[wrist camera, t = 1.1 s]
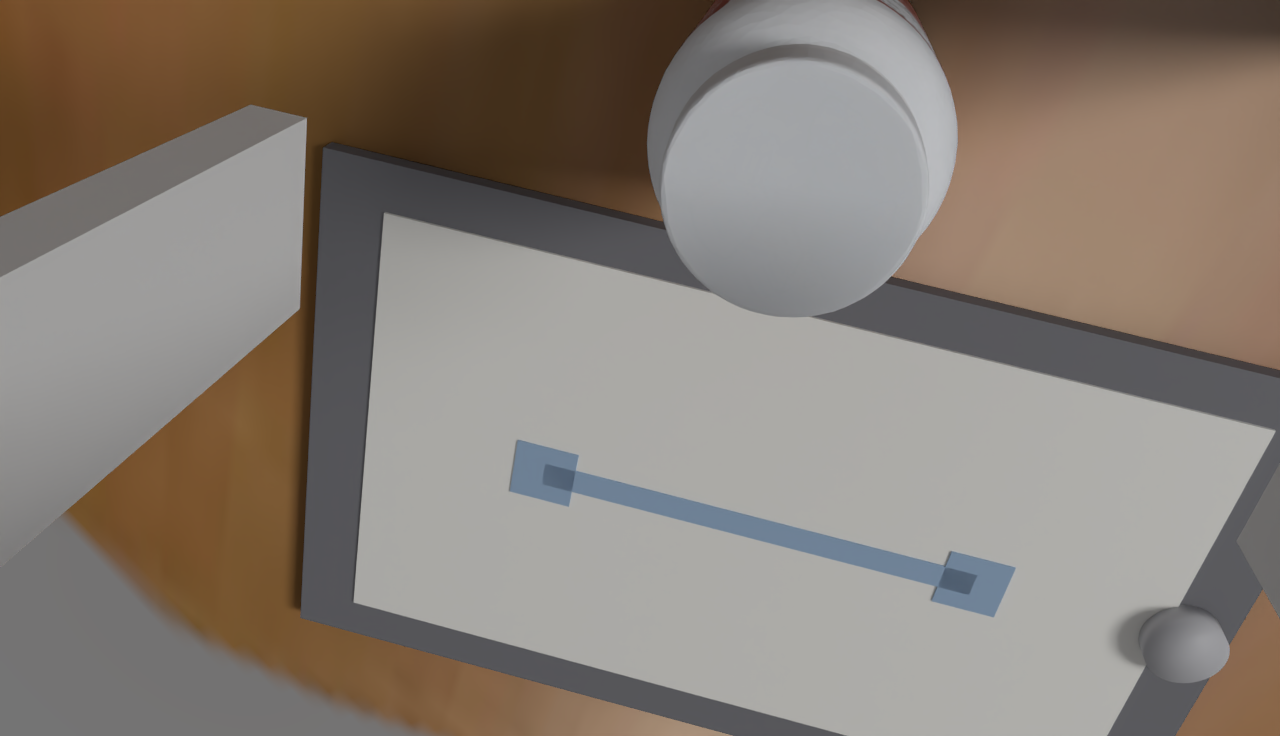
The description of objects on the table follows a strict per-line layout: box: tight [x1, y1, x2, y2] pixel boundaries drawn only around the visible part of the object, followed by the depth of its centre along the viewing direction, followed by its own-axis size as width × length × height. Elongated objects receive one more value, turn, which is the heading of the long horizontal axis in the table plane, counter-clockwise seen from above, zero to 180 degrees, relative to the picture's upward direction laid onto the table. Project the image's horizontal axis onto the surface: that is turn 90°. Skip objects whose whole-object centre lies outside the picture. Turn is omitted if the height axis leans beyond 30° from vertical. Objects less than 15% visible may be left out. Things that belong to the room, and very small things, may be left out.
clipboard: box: [301, 142, 1280, 736], centre depth 34 cm, size 18×30×1 cm, turn 79°
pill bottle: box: [647, 0, 958, 317], centre depth 23 cm, size 6×6×11 cm
